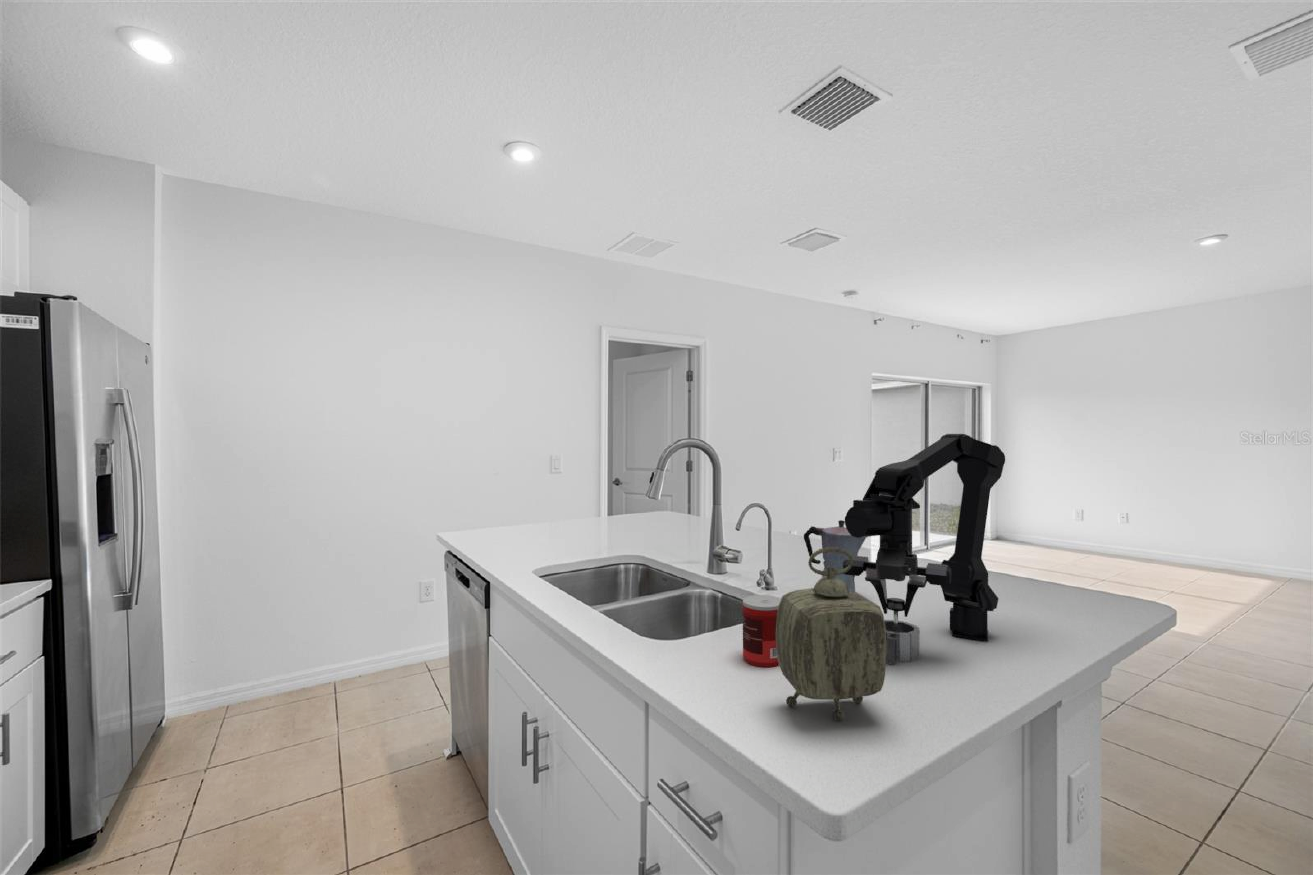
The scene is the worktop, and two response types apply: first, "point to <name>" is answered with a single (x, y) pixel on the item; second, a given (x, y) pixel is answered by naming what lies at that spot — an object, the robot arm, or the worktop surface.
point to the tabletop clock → (831, 640)
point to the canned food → (760, 630)
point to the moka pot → (837, 539)
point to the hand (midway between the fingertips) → (895, 614)
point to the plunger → (895, 609)
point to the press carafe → (902, 642)
